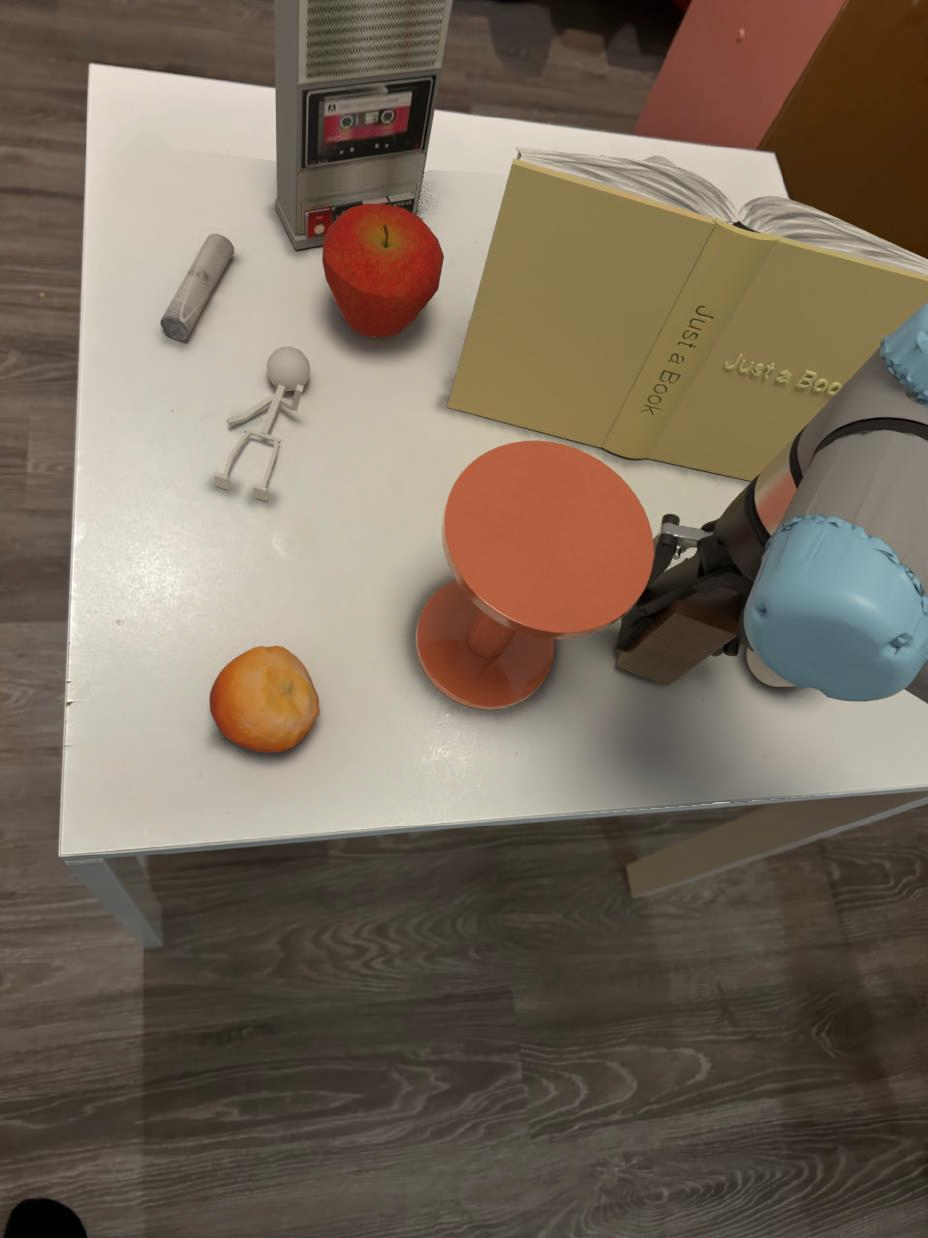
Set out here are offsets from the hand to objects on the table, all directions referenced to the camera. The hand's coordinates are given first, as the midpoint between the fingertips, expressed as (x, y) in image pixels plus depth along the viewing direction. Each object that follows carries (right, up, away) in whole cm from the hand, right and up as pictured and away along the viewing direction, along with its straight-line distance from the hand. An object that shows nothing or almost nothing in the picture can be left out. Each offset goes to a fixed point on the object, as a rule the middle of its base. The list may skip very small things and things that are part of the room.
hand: (653, 646), depth 71 cm
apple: (-25, +32, +11) cm, 42 cm away
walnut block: (0, 0, +1) cm, 1 cm away
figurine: (-35, +20, +4) cm, 40 cm away
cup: (+12, -2, +5) cm, 13 cm away
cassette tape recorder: (-29, +44, +15) cm, 55 cm away
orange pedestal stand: (-15, 0, -1) cm, 15 cm away
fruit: (-32, -5, -6) cm, 33 cm away
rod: (-42, +33, +8) cm, 54 cm away
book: (0, +22, +12) cm, 25 cm away
